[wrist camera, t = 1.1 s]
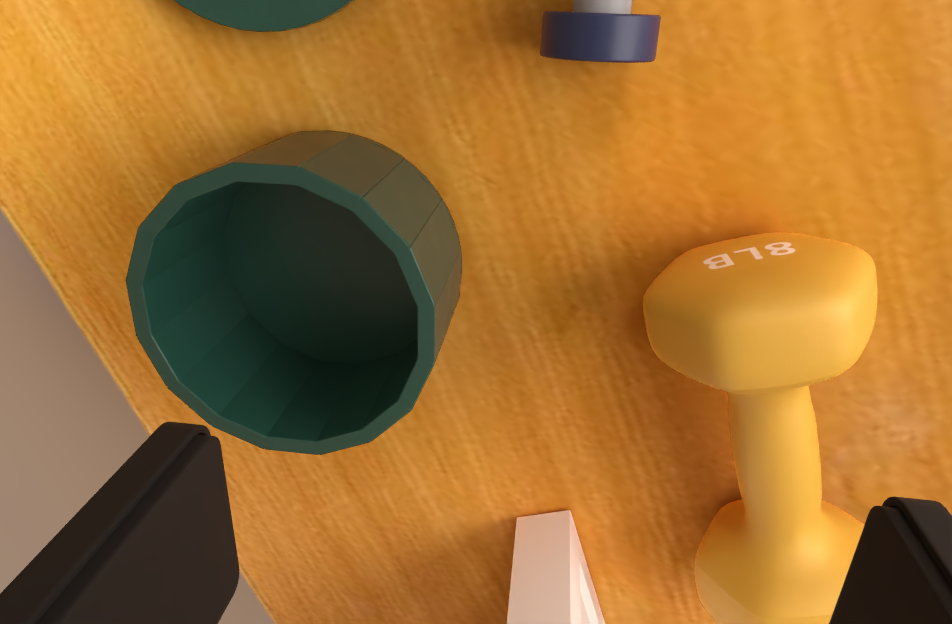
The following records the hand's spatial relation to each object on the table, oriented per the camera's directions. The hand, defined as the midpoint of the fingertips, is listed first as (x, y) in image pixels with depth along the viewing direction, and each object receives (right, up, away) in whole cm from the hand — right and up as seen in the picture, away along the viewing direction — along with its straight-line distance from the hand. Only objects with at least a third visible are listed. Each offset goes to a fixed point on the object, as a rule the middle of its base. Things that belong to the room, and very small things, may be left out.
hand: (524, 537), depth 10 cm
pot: (-8, +6, +23) cm, 25 cm away
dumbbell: (+13, -1, +24) cm, 27 cm away
